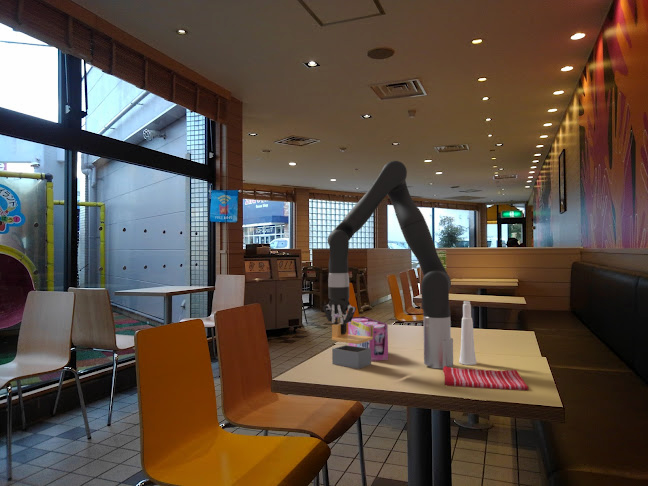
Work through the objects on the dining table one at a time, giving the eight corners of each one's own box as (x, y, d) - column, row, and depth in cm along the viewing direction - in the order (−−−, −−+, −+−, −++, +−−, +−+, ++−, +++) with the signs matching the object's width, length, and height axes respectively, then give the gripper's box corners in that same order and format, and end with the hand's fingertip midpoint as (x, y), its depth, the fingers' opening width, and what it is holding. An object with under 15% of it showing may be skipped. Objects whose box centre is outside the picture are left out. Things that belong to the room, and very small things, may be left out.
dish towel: (442, 372, 153) (442, 364, 153) (519, 377, 147) (518, 368, 147) (443, 387, 137) (443, 378, 137) (528, 392, 131) (528, 383, 131)
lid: (372, 341, 161) (372, 325, 162) (359, 345, 155) (358, 328, 155) (344, 337, 169) (343, 322, 169) (329, 341, 162) (329, 325, 162)
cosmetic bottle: (478, 362, 165) (477, 301, 166) (473, 365, 160) (472, 302, 161) (462, 360, 169) (461, 300, 169) (456, 363, 164) (455, 301, 164)
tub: (371, 365, 161) (370, 348, 162) (358, 370, 155) (358, 352, 155) (345, 361, 168) (345, 345, 168) (332, 365, 162) (332, 348, 162)
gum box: (390, 362, 167) (390, 324, 168) (370, 363, 165) (370, 325, 165) (365, 349, 190) (365, 316, 191) (347, 350, 188) (347, 317, 188)
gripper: (360, 285, 164) (361, 334, 164) (329, 284, 173) (330, 330, 172) (348, 286, 158) (349, 337, 158) (317, 285, 167) (318, 333, 166)
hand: (339, 333), depth 165 cm, fingers closed on lid, 2 cm apart
